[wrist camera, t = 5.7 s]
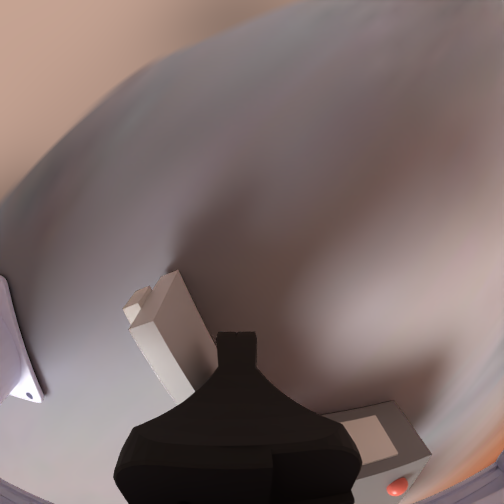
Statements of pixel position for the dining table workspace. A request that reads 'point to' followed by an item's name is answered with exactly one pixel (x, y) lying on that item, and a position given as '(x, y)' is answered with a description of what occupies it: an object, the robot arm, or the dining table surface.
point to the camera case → (383, 452)
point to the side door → (172, 336)
